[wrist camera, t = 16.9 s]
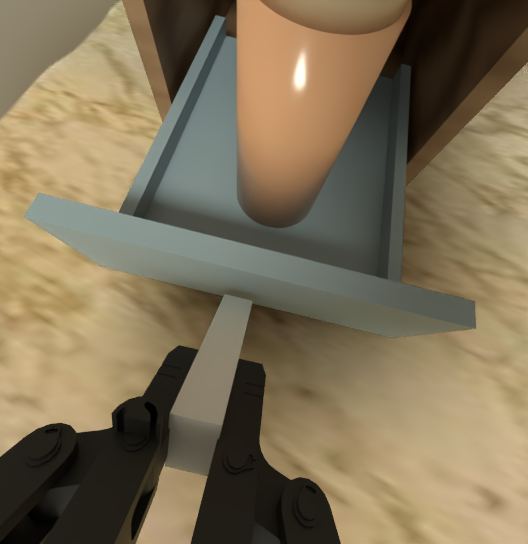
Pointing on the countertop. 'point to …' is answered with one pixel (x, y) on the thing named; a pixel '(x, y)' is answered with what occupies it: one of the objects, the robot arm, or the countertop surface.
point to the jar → (303, 94)
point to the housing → (407, 50)
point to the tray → (258, 238)
